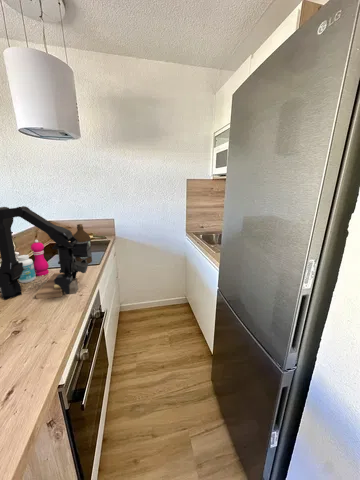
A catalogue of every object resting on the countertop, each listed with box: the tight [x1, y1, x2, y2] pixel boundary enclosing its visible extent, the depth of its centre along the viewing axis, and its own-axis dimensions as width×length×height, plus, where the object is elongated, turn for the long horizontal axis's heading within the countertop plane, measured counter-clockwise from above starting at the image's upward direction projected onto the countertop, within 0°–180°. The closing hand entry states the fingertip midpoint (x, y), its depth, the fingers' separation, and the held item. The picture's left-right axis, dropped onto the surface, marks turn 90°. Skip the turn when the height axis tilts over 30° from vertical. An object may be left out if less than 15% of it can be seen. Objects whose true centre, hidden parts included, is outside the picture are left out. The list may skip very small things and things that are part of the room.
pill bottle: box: [16, 254, 37, 284], centre depth 108 cm, size 8×7×14 cm
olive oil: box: [72, 223, 93, 265], centre depth 132 cm, size 11×11×25 cm
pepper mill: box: [30, 239, 50, 277], centre depth 115 cm, size 7×7×20 cm
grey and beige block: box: [54, 277, 79, 296], centre depth 97 cm, size 4×9×6 cm, turn 102°
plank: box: [35, 272, 64, 300], centre depth 103 cm, size 23×10×3 cm, turn 12°
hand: (70, 289), depth 98 cm, fingers open, 9 cm apart
